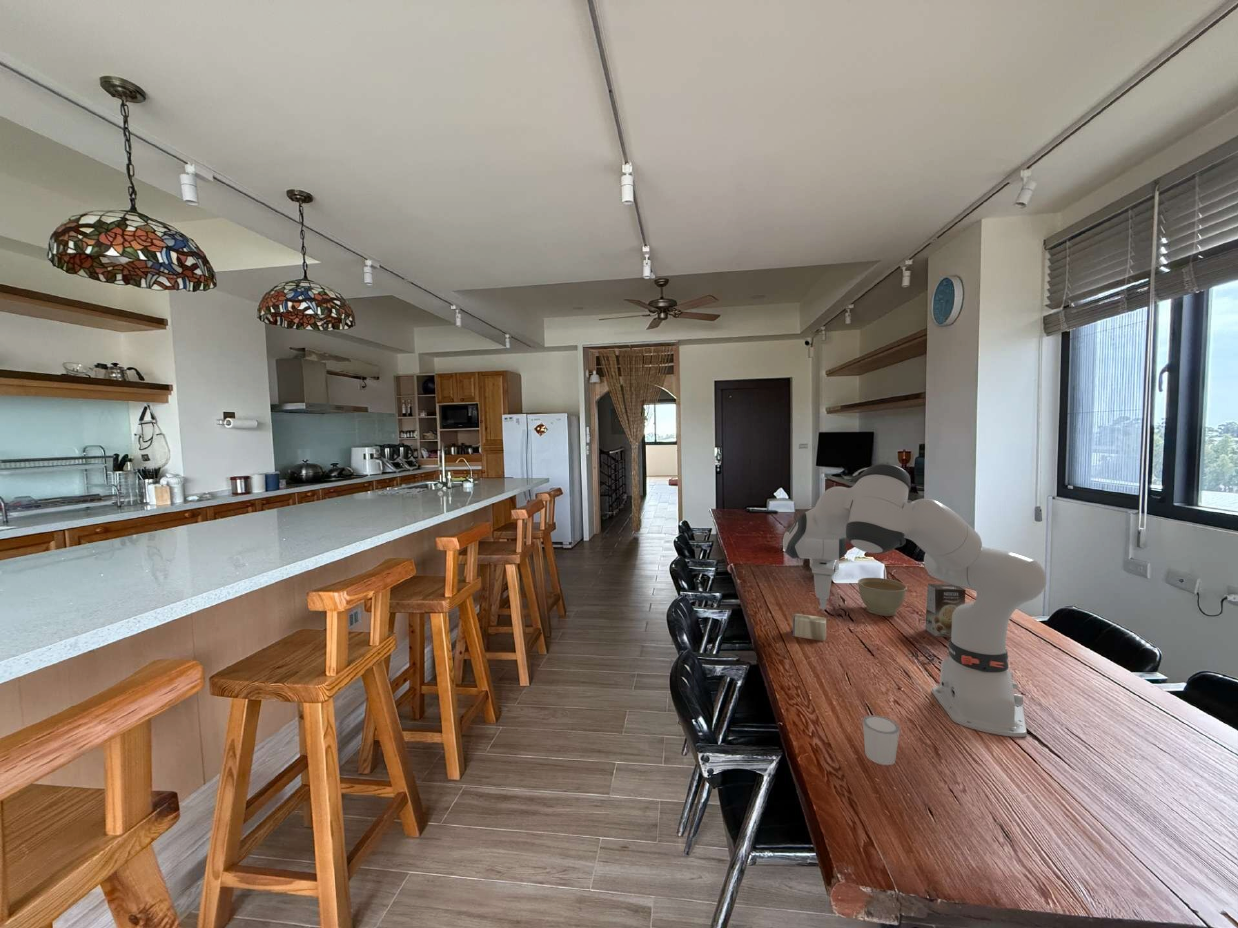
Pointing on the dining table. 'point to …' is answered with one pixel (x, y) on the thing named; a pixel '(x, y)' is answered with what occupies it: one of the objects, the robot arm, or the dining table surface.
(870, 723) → the shot glass
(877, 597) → the planter bowl
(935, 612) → the coffee box
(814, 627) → the birch block
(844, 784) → the dining table surface
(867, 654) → the dining table surface
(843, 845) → the dining table surface
